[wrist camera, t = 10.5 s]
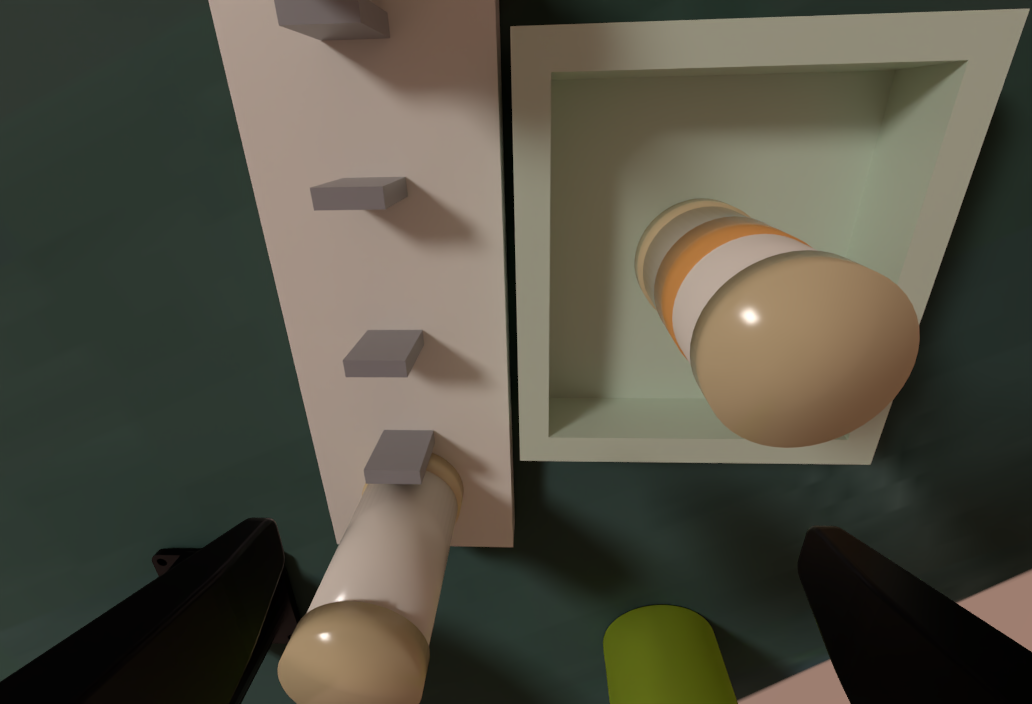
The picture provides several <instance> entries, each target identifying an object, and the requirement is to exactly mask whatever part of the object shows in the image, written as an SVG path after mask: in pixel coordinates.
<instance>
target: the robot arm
mask: <svg viewBox="0 0 1032 704" xmlns="http://www.w3.org/2000/svg"><path fill="white" fill-rule="evenodd" d="M284 559H285V556H284V550H283V546H282V542H281V539H280V535H279V531H278V527H277V524H276V522H275V521H274V520H273V519H271V518H248V519H246V520H244V521H243V522H241V523H240V524H238V525H237V526H235V527H234V528H232V529H231V530H229V531H227V532H226V533H224V534H223V535H221V536H220V537H218V538H217V539H215V540H214V541H212V542H211V543H209V544H208V545H206V546H205V547H203V548H202V549H160V550H159V551H158V552H157V553H156V554H155V555H154V556H153V558H152V562H153V565H154V567H155V569H156V571H157V573H158V575H159V577H158V578H157V579H155V580H153V581H152V582H150V583H149V584H147V585H146V586H144V587H143V588H141V589H140V590H138V591H137V592H135V593H134V594H132V595H131V596H129V597H128V598H126V599H125V600H123V601H122V602H120V603H119V604H117V605H116V606H114V607H113V608H111V609H110V610H108V611H107V612H105V613H104V614H102V615H101V616H99V617H98V618H96V619H95V620H93V621H92V622H90V623H89V624H87V625H86V626H84V627H83V628H81V629H79V630H78V631H76V632H75V633H73V634H72V635H70V636H69V637H67V638H66V639H64V640H63V641H61V642H60V643H58V644H57V645H55V646H54V647H52V648H51V649H49V650H48V651H46V652H45V653H43V654H42V655H40V656H39V657H37V658H36V659H34V660H33V661H31V662H30V663H28V664H27V665H25V666H24V667H22V668H20V669H19V670H17V671H16V672H14V673H13V674H11V675H10V676H8V677H7V678H5V679H4V680H2V681H1V682H0V704H241V703H242V701H243V699H244V697H245V695H246V693H247V691H248V689H249V687H250V685H251V683H252V681H253V679H254V677H255V675H256V674H257V672H258V670H259V668H260V666H261V664H262V662H263V660H264V658H265V656H266V654H267V652H268V650H269V648H270V646H271V644H272V643H283V644H288V642H289V640H290V638H291V636H292V634H293V632H294V630H295V628H296V626H297V624H298V622H299V621H300V619H301V618H300V615H299V611H298V608H297V605H296V602H295V598H294V595H293V592H292V589H291V585H290V582H289V579H288V575H287V572H286V569H285V566H284ZM798 573H799V577H800V580H801V583H802V585H803V588H804V591H805V593H806V596H807V599H808V601H809V604H810V606H811V609H812V612H813V614H814V617H815V620H816V622H817V625H818V628H819V630H820V633H821V636H822V638H823V641H824V643H825V646H826V649H827V651H828V654H829V657H830V659H831V662H832V664H833V666H834V669H835V671H836V673H837V675H838V678H839V680H840V682H841V684H842V687H843V689H844V691H845V693H846V695H847V697H848V699H849V701H850V703H851V704H1032V652H1031V651H1029V650H1028V649H1026V648H1024V647H1023V646H1022V645H1020V644H1018V643H1017V642H1015V641H1014V640H1012V639H1011V638H1009V637H1008V636H1006V635H1005V634H1003V633H1001V632H1000V631H998V630H996V629H995V628H994V627H992V626H991V625H989V624H988V623H986V622H985V621H983V620H981V619H980V618H978V617H977V616H975V615H974V614H972V613H971V612H969V611H967V610H966V609H964V608H963V607H961V606H959V605H958V604H957V603H955V602H954V601H952V600H951V599H949V598H948V597H946V596H944V595H943V594H941V593H940V592H938V591H937V590H935V589H934V588H932V587H931V586H929V585H927V584H926V583H924V582H923V581H921V580H920V579H918V578H917V577H915V576H914V575H912V574H911V573H909V572H907V571H906V570H904V569H903V568H901V567H900V566H898V565H897V564H895V563H894V562H892V561H890V560H889V559H887V558H886V557H884V556H883V555H881V554H880V553H878V552H877V551H875V550H874V549H872V548H870V547H869V546H867V545H866V544H864V543H863V542H861V541H860V540H858V539H857V538H855V537H853V536H852V535H850V534H849V533H847V532H846V531H844V530H843V529H841V528H839V527H836V526H812V527H810V528H809V529H808V531H807V533H806V537H805V540H804V543H803V546H802V550H801V553H800V556H799V560H798Z"/></svg>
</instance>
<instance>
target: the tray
mask: <svg viewBox="0 0 1032 704" xmlns="http://www.w3.org/2000/svg"><path fill="white" fill-rule="evenodd" d="M1029 10H1030V9H1005V10H975V11H946V12H916V13H886V14H857V15H827V16H798V17H768V18H739V19H709V20H680V21H650V22H621V23H591V24H561V25H532V26H510V39H511V83H512V128H513V172H514V216H515V260H516V304H517V348H518V393H519V437H520V461H590V462H681V463H772V464H863V465H870V464H871V462H872V459H873V456H874V453H875V450H876V447H877V444H878V442H879V439H880V436H881V433H882V430H883V427H884V424H885V422H886V419H887V416H888V413H889V410H890V407H891V404H892V401H893V400H892V401H891V402H890V403H889V404H888V405H887V406H886V407H885V408H884V409H883V410H882V411H881V412H880V413H879V414H877V415H876V416H875V417H874V418H872V419H871V420H870V421H868V422H867V423H865V424H864V425H862V426H861V427H859V428H857V429H855V430H854V431H852V432H850V433H848V434H846V435H843V436H841V437H839V438H836V439H833V440H831V441H828V442H825V443H820V444H816V445H812V446H805V447H796V448H780V447H771V446H765V445H761V444H757V443H754V442H751V441H749V440H746V439H744V438H742V437H740V436H738V435H737V434H735V433H734V432H732V431H731V430H729V429H728V428H727V427H726V426H725V425H724V424H723V423H722V422H721V421H720V420H719V419H718V418H717V416H716V415H715V413H714V412H713V410H712V408H711V407H710V405H709V403H708V402H707V400H706V398H705V397H704V395H703V393H702V392H701V390H700V388H699V386H698V385H697V383H696V380H695V378H694V376H693V372H692V368H691V364H690V363H689V361H688V360H687V359H686V358H685V357H684V356H683V354H682V353H681V352H680V350H679V349H678V347H677V345H676V344H675V342H674V340H673V339H672V337H671V335H670V334H669V332H668V330H667V329H666V327H665V325H664V324H663V322H662V320H661V319H660V317H659V314H658V312H657V311H656V310H655V309H654V308H653V307H652V305H651V304H650V303H649V302H648V300H647V298H646V297H645V295H644V293H643V292H642V290H641V288H640V286H639V284H638V282H637V278H636V275H635V268H634V261H635V253H636V249H637V245H638V243H639V240H640V238H641V236H642V234H643V233H644V231H645V229H646V228H647V227H648V225H649V224H650V223H651V222H652V221H653V220H654V219H655V218H656V217H657V216H658V215H659V214H660V213H662V212H663V211H664V210H666V209H668V208H669V207H671V206H673V205H675V204H677V203H680V202H683V201H686V200H690V199H698V198H708V199H715V200H719V201H722V202H725V203H727V204H729V205H731V206H733V207H736V208H738V209H740V210H741V211H743V212H745V213H746V214H747V215H749V216H750V217H751V218H753V219H756V220H759V221H761V222H764V223H766V224H768V225H770V226H772V227H774V228H776V229H779V230H781V231H783V232H785V233H787V234H789V235H791V236H794V237H796V238H798V239H800V240H802V241H803V242H805V243H807V244H808V245H809V246H811V247H812V248H813V249H816V250H818V251H824V252H829V253H834V254H837V255H840V256H842V257H845V258H847V259H850V260H852V261H854V262H856V263H858V264H861V265H863V266H865V267H867V268H869V269H872V270H874V271H876V272H878V273H880V274H882V275H884V276H885V277H887V278H889V279H890V280H891V281H893V282H894V283H895V284H897V285H898V286H899V287H900V288H901V289H902V290H903V292H904V293H905V294H906V295H907V297H908V298H909V300H910V301H911V303H912V305H913V307H914V310H915V312H916V315H917V319H918V324H920V321H921V319H922V316H923V313H924V310H925V307H926V304H927V301H928V298H929V296H930V293H931V290H932V287H933V284H934V281H935V278H936V276H937V273H938V270H939V267H940V264H941V261H942V258H943V256H944V253H945V250H946V247H947V244H948V241H949V238H950V236H951V233H952V230H953V227H954V224H955V221H956V218H957V216H958V213H959V210H960V207H961V204H962V201H963V198H964V196H965V193H966V190H967V187H968V184H969V181H970V178H971V175H972V173H973V170H974V167H975V164H976V161H977V158H978V155H979V153H980V150H981V147H982V144H983V141H984V138H985V135H986V133H987V130H988V127H989V124H990V121H991V118H992V115H993V113H994V110H995V107H996V104H997V101H998V98H999V95H1000V93H1001V90H1002V87H1003V84H1004V81H1005V78H1006V75H1007V72H1008V70H1009V67H1010V64H1011V61H1012V58H1013V55H1014V52H1015V50H1016V47H1017V44H1018V41H1019V38H1020V35H1021V32H1022V30H1023V27H1024V24H1025V21H1026V18H1027V15H1028V12H1029Z"/></svg>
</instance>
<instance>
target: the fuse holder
mask: <svg viewBox="0 0 1032 704" xmlns="http://www.w3.org/2000/svg"><path fill="white" fill-rule="evenodd" d="M208 1H209V5H210V9H211V13H212V17H213V22H214V26H215V30H216V34H217V39H218V43H219V47H220V51H221V55H222V60H223V64H224V68H225V72H226V76H227V81H228V85H229V89H230V93H231V98H232V102H233V106H234V110H235V114H236V119H237V123H238V127H239V131H240V136H241V140H242V144H243V148H244V152H245V157H246V161H247V165H248V169H249V174H250V178H251V182H252V186H253V190H254V195H255V199H256V203H257V207H258V212H259V216H260V220H261V224H262V228H263V233H264V237H265V241H266V245H267V250H268V254H269V258H270V262H271V266H272V271H273V275H274V279H275V283H276V288H277V292H278V296H279V300H280V304H281V309H282V313H283V317H284V321H285V326H286V330H287V334H288V338H289V342H290V347H291V351H292V355H293V359H294V364H295V368H296V372H297V376H298V380H299V385H300V389H301V393H302V397H303V401H304V406H305V410H306V414H307V418H308V423H309V427H310V431H311V435H312V439H313V444H314V448H315V452H316V456H317V461H318V465H319V469H320V473H321V477H322V482H323V486H324V490H325V494H326V499H327V503H328V507H329V511H330V515H331V520H332V524H333V528H334V532H335V537H336V541H337V544H340V541H341V539H342V537H343V535H344V533H345V531H346V529H347V527H348V525H349V523H350V520H351V518H352V516H353V514H354V512H355V510H356V508H357V506H358V504H359V501H360V499H361V497H362V491H363V487H364V485H365V483H366V484H422V481H423V478H424V475H425V472H426V469H427V466H428V463H429V460H430V457H431V454H432V453H434V454H437V455H438V456H440V457H442V458H444V459H445V460H447V461H448V462H449V463H450V464H451V465H452V466H453V467H454V468H455V469H456V470H457V472H458V473H459V475H460V477H461V479H462V482H463V487H464V494H463V500H462V505H461V509H460V514H459V517H458V520H457V522H456V524H455V526H454V531H453V535H452V540H451V545H450V546H471V547H513V542H514V527H515V513H514V480H513V447H512V414H511V380H510V347H509V314H508V281H507V248H506V215H505V182H504V148H503V115H502V82H501V49H500V16H499V0H208Z"/></svg>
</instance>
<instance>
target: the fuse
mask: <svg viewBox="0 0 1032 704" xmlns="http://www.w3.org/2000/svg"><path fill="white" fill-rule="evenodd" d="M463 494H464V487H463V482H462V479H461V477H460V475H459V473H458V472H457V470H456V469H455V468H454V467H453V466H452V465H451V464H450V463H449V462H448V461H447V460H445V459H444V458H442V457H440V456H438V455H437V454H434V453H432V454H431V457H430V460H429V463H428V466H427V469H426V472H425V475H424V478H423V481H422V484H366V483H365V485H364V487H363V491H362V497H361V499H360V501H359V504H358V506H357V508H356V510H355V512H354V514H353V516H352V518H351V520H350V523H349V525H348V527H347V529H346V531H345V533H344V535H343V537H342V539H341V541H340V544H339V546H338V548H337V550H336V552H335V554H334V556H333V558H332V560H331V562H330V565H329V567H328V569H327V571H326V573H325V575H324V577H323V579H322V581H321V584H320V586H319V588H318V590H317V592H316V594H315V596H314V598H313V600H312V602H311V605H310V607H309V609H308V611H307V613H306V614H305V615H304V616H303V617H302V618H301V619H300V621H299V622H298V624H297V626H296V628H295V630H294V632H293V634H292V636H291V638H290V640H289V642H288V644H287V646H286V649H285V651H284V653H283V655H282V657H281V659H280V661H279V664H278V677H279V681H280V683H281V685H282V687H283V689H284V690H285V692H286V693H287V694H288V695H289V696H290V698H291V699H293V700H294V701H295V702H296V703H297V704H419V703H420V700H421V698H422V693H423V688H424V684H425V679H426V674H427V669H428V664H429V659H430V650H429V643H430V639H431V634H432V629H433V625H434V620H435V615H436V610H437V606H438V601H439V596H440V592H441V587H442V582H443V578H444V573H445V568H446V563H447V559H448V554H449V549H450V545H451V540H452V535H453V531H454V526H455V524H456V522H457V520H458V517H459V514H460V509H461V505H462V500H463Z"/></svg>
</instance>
